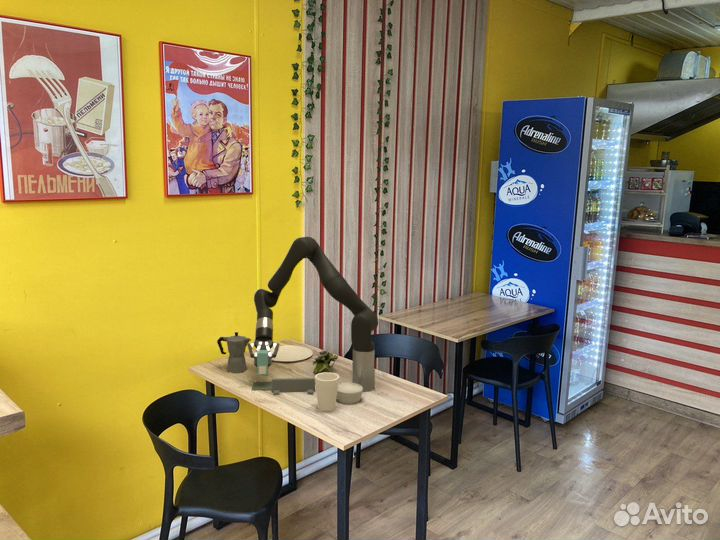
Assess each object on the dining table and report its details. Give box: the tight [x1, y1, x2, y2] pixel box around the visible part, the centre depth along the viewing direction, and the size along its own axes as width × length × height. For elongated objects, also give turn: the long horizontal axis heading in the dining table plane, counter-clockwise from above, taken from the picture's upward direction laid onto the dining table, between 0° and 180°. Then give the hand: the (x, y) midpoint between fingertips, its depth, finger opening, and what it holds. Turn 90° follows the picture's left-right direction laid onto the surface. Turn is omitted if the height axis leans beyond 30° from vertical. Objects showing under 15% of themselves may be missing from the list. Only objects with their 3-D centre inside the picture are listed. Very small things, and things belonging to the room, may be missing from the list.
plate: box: [270, 345, 314, 363], centre depth 281 cm, size 25×25×2 cm
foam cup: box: [314, 371, 340, 413], centre depth 218 cm, size 10×9×13 cm
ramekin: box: [336, 382, 363, 405], centre depth 228 cm, size 11×11×5 cm
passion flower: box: [312, 350, 339, 374], centre depth 259 cm, size 11×11×12 cm
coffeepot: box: [216, 331, 252, 374], centre depth 257 cm, size 15×9×18 cm, turn 92°
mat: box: [251, 381, 272, 392], centre depth 239 cm, size 9×9×1 cm
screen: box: [271, 377, 316, 396], centre depth 233 cm, size 18×4×6 cm, turn 96°
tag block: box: [256, 350, 270, 377], centre depth 238 cm, size 4×5×10 cm
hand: (262, 365), depth 236 cm, fingers closed on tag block, 4 cm apart
